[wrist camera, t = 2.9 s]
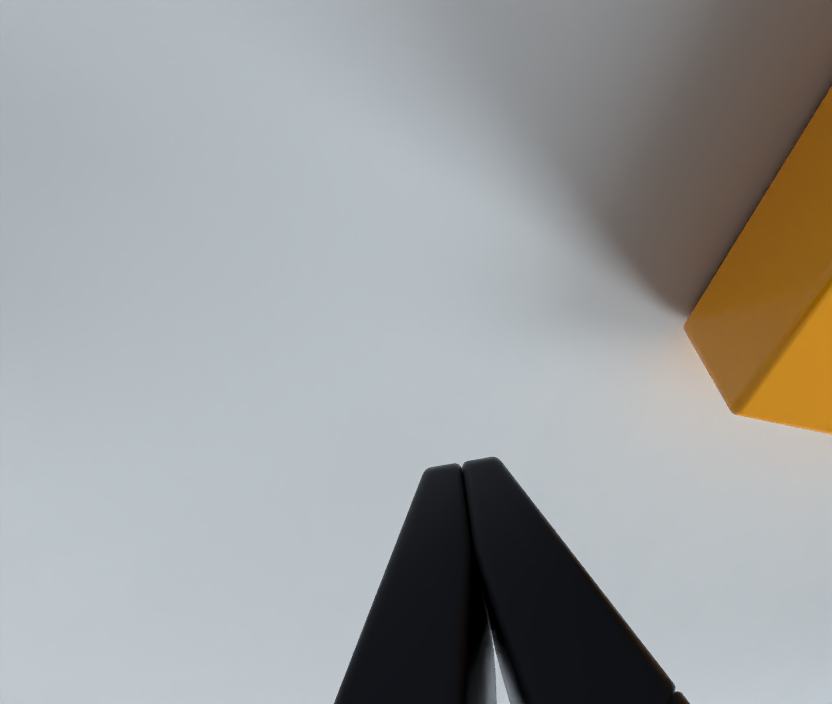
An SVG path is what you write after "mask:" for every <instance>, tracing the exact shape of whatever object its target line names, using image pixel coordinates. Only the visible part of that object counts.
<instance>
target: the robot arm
mask: <svg viewBox="0 0 832 704" xmlns="http://www.w3.org/2000/svg"><path fill="white" fill-rule="evenodd" d="M491 632H492V634H491ZM492 637H493V642H494V646H495V651H496V655H497V659H498V662H499V666H500V670H501V674H502V677H503V680H504V684H505V687H506V691H507V694H508V697H509V701H510V704H690V703H689V702H688V701H687V699H686V698H685V697H684V696H683V694H682V693H681V692H678V691H677V692H675V685H674V683H673V682H672V681H671V679H670V678H669V677H668V676H667V674H666V673H665V672H664V670H663V669H662V668H661V667H660V665H659V664H658V663H657V661H656V660H655V659H654V658H653V656H652V655H651V654H650V652H649V651H648V650H647V649H646V647H645V646H644V645H643V643H642V642H641V641H640V640H639V638H638V637H637V636H636V634H635V633H634V632H633V631H632V629H631V628H630V627H629V625H628V624H627V623H626V621H625V620H624V619H623V618H622V616H621V615H620V614H619V612H618V611H617V610H616V609H615V607H614V606H613V605H612V603H611V602H610V601H609V600H608V598H607V597H606V596H605V594H604V593H603V592H602V591H601V589H600V588H599V587H598V585H597V584H596V583H595V582H594V580H593V579H592V578H591V576H590V575H589V574H588V573H587V571H586V570H585V569H584V567H583V566H582V565H581V564H580V562H579V561H578V560H577V558H576V557H575V556H574V555H573V553H572V552H571V551H570V549H569V548H568V547H567V546H566V544H565V543H564V542H563V540H562V539H561V538H560V536H559V535H558V534H557V533H556V531H555V530H554V529H553V527H552V526H551V525H550V524H549V522H548V521H547V520H546V518H545V517H544V516H543V515H542V513H541V512H540V511H539V509H538V508H537V507H536V506H535V504H534V503H533V502H532V500H531V499H530V498H529V497H528V495H527V494H526V493H525V491H524V490H523V489H522V488H521V486H520V485H519V484H518V482H517V481H516V480H515V479H514V477H513V476H512V475H511V473H510V472H509V471H508V470H507V468H506V467H505V466H504V464H503V463H502V462H501V461H500V460H499V459H498V458H496V457H488V458H483V459H477V460H471V461H467V462H465V463H464V464H463V466H462V468H461V466H460V465H459V464H456V463H454V464H448V465H442V466H436V467H431V468H428V469H427V470H425V472H424V473H423V475H422V478H421V480H420V483H419V485H418V488H417V490H416V493H415V496H414V498H413V501H412V503H411V506H410V509H409V511H408V514H407V516H406V519H405V521H404V524H403V527H402V529H401V532H400V534H399V537H398V540H397V542H396V545H395V547H394V550H393V552H392V555H391V558H390V560H389V563H388V565H387V568H386V570H385V573H384V576H383V578H382V581H381V583H380V586H379V589H378V591H377V594H376V596H375V599H374V601H373V604H372V607H371V609H370V612H369V614H368V617H367V620H366V622H365V625H364V627H363V630H362V632H361V635H360V638H359V640H358V643H357V645H356V648H355V651H354V653H353V656H352V658H351V661H350V663H349V666H348V669H347V671H346V674H345V676H344V679H343V681H342V684H341V687H340V689H339V692H338V694H337V697H336V700H335V702H334V704H497V700H496V677H495V661H494V649H493V642H492Z"/></svg>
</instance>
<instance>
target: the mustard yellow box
mask: <svg viewBox="0 0 832 704" xmlns="http://www.w3.org/2000/svg"><path fill="white" fill-rule="evenodd" d="M684 330H685V332H686V334H687V336H688V337H689V339H690V341H691V343H692V344H693V346H694V348H695V350H696V351H697V353H698V355H699V357H700V358H701V360H702V362H703V364H704V365H705V367H706V369H707V371H708V372H709V374H710V376H711V378H712V379H713V381H714V383H715V385H716V386H717V388H718V390H719V392H720V393H721V395H722V397H723V399H724V400H725V402H726V404H727V406H728V407H729V409H730V411H731V412H732V413H733V414H735V415H739V416H744V417H749V418H754V419H759V420H764V421H768V422H773V423H778V424H783V425H788V426H793V427H798V428H802V429H807V430H812V431H817V432H822V433H827V434H831V435H832V86H831V88H830V89H829V91H828V93H827V94H826V96H825V97H824V99H823V101H822V102H821V104H820V105H819V107H818V109H817V110H816V112H815V114H814V115H813V117H812V118H811V120H810V122H809V123H808V125H807V127H806V128H805V130H804V131H803V133H802V135H801V136H800V138H799V139H798V141H797V143H796V144H795V146H794V148H793V149H792V151H791V152H790V154H789V156H788V157H787V159H786V161H785V162H784V164H783V165H782V167H781V169H780V170H779V172H778V174H777V175H776V177H775V178H774V180H773V182H772V183H771V185H770V186H769V188H768V190H767V191H766V193H765V195H764V196H763V198H762V199H761V201H760V203H759V204H758V206H757V208H756V209H755V211H754V212H753V214H752V216H751V217H750V219H749V220H748V222H747V224H746V225H745V227H744V229H743V230H742V232H741V233H740V235H739V237H738V238H737V240H736V242H735V243H734V245H733V246H732V248H731V250H730V251H729V253H728V254H727V256H726V258H725V259H724V261H723V263H722V264H721V266H720V267H719V269H718V271H717V272H716V274H715V276H714V277H713V279H712V280H711V282H710V284H709V285H708V287H707V289H706V290H705V292H704V293H703V295H702V297H701V298H700V300H699V301H698V303H697V305H696V306H695V308H694V310H693V311H692V313H691V314H690V316H689V318H688V319H687V321H686V323H685V325H684Z"/></svg>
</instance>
